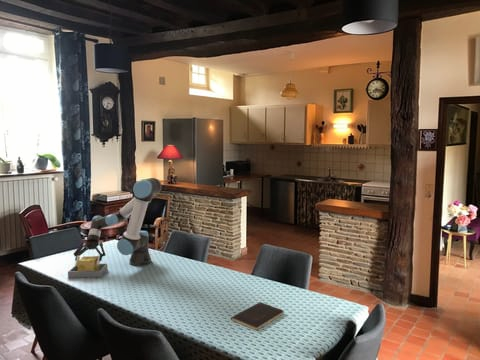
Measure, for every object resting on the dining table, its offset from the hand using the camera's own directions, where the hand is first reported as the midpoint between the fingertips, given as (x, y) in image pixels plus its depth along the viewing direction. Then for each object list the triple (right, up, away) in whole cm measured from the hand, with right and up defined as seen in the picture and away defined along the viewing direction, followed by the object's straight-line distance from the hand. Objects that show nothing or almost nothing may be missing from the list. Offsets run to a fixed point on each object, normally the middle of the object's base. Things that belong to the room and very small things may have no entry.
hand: (87, 265), depth 242 cm
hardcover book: (+108, -15, -53) cm, 122 cm away
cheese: (0, -6, +3) cm, 6 cm away
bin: (0, -6, +3) cm, 7 cm away
